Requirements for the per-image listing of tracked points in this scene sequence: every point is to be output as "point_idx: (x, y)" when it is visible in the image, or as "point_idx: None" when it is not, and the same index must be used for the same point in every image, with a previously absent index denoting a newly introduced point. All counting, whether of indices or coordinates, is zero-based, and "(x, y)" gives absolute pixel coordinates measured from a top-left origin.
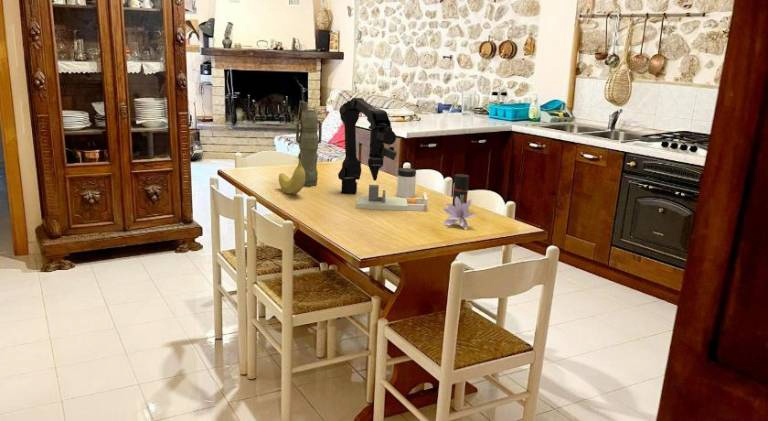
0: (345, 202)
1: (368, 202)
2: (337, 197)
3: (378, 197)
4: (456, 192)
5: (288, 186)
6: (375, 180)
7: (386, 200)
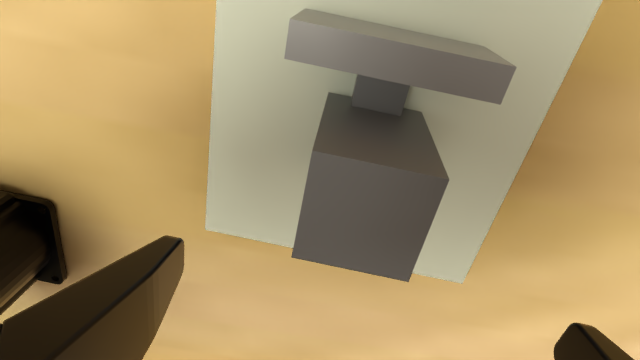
0: (294, 291)
1: (444, 198)
2: (170, 309)
3: (387, 109)
4: None
5: None
6: (579, 330)
7: (382, 6)
